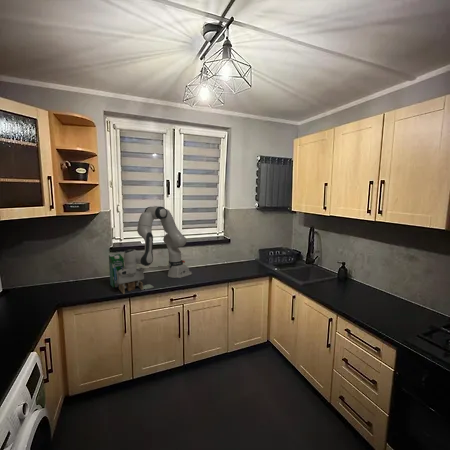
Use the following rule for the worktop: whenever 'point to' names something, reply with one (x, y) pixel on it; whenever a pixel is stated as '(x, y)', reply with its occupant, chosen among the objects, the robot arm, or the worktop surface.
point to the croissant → (126, 286)
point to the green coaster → (147, 286)
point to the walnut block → (130, 286)
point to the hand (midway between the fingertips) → (131, 286)
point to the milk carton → (115, 268)
